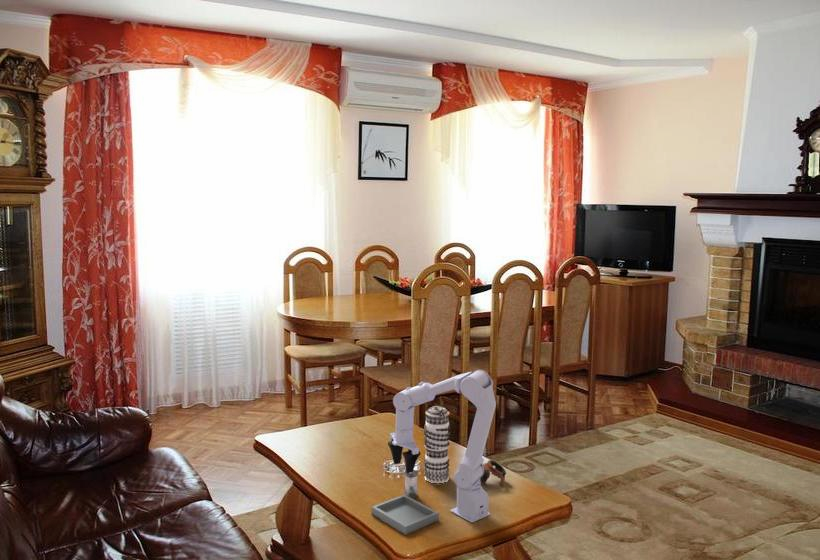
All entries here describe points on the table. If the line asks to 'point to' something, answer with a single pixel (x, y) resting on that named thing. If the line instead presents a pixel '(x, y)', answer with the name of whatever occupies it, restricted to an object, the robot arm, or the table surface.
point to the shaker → (411, 484)
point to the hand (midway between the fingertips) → (403, 467)
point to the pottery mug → (493, 472)
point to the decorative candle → (436, 445)
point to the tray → (405, 514)
